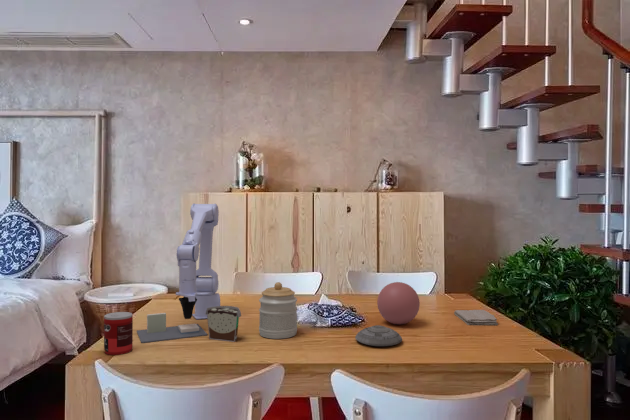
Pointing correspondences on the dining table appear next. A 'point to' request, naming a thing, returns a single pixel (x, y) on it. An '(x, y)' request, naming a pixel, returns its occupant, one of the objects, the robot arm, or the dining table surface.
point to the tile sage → (156, 322)
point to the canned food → (118, 333)
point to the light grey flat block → (188, 328)
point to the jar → (278, 313)
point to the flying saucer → (378, 336)
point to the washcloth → (476, 317)
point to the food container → (223, 322)
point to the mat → (167, 334)
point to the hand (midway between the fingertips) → (187, 318)
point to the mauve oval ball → (398, 303)
